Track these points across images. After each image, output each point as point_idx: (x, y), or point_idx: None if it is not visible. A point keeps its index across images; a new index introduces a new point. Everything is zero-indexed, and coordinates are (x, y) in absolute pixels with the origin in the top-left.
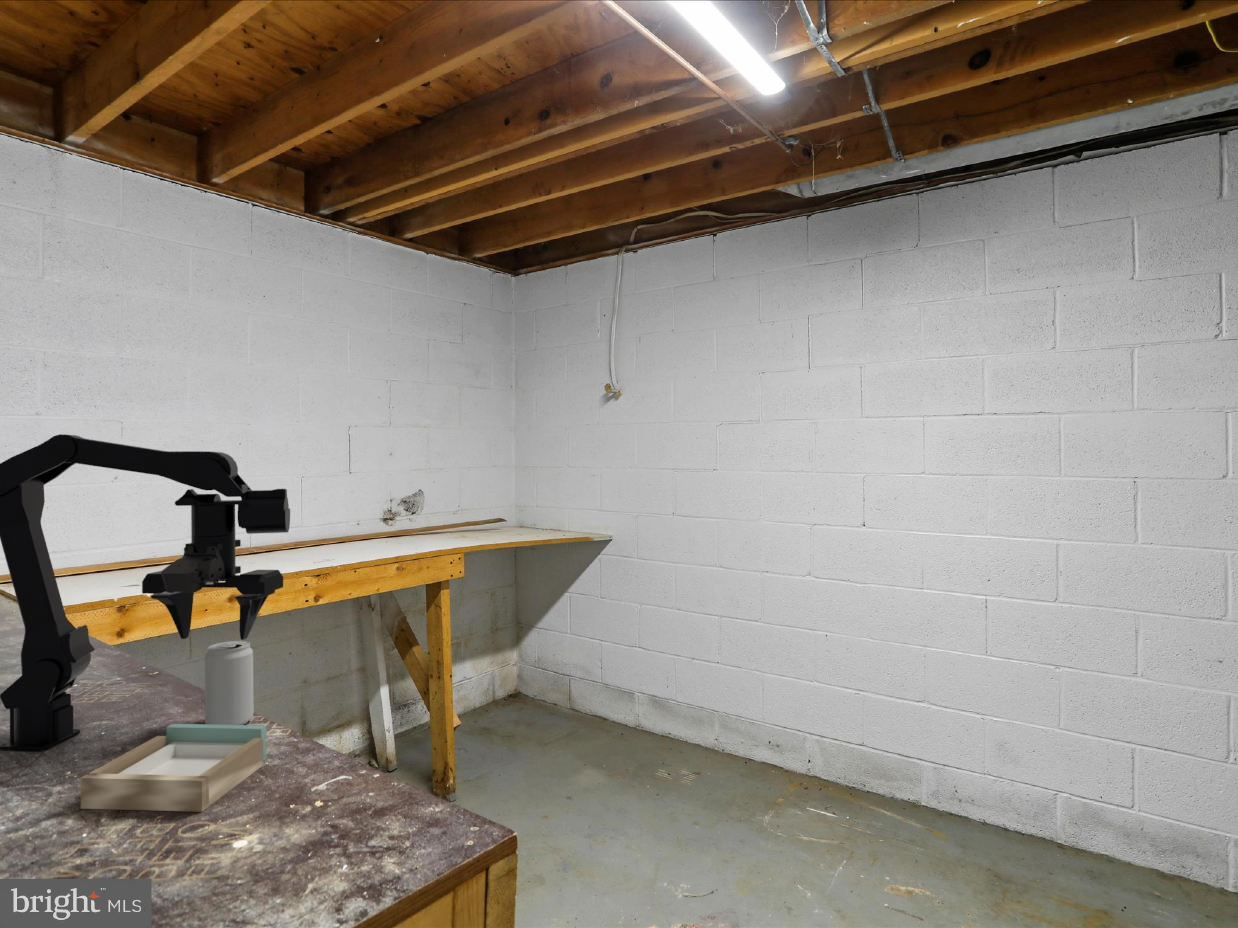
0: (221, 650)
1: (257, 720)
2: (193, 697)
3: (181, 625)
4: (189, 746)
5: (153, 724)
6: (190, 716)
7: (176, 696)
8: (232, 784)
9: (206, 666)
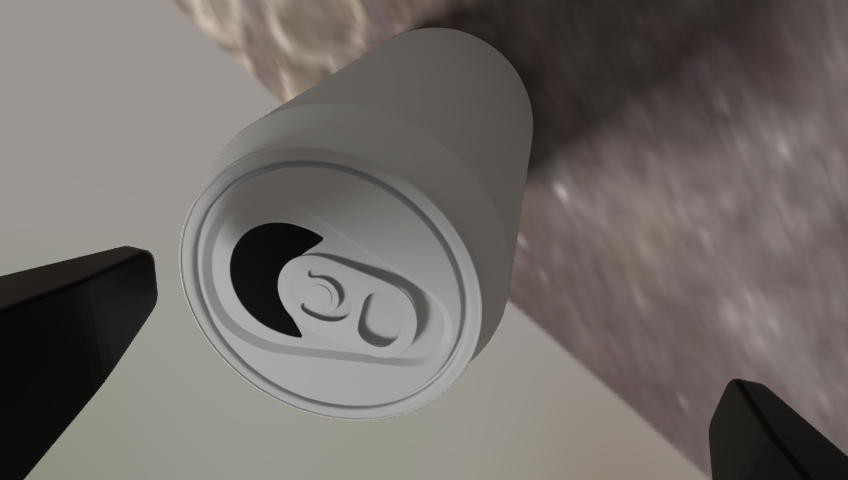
0: (300, 152)
1: None
2: None
3: (798, 474)
4: None
5: (795, 160)
6: (655, 236)
7: None
8: None
9: (466, 137)
